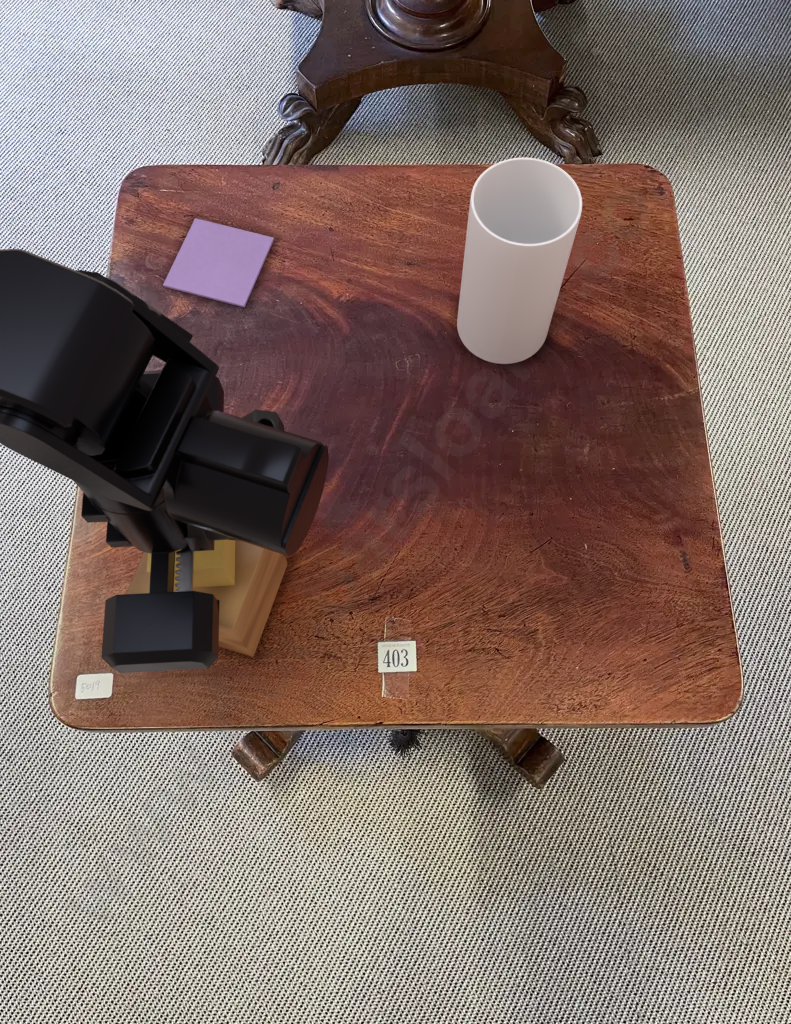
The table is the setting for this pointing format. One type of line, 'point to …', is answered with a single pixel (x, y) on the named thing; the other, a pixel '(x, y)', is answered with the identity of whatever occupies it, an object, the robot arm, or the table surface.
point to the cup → (515, 257)
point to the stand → (237, 595)
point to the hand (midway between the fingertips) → (197, 557)
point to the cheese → (211, 565)
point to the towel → (219, 262)
